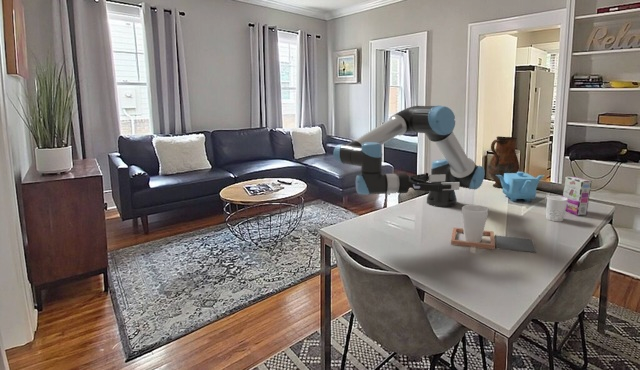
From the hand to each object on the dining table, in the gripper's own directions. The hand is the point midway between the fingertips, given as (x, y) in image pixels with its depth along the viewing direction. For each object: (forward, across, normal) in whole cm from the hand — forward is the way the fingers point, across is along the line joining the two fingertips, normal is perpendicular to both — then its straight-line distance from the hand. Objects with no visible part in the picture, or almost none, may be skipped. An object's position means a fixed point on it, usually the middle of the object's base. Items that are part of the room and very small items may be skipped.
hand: (451, 181), depth 146 cm
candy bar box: (+71, -28, -24) cm, 80 cm away
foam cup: (+10, 0, -24) cm, 26 cm away
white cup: (+56, -19, -24) cm, 64 cm away
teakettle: (+59, -52, -24) cm, 82 cm away
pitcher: (+62, -79, -24) cm, 104 cm away
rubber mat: (+24, +6, -24) cm, 34 cm away
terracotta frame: (+10, 0, -24) cm, 26 cm away
